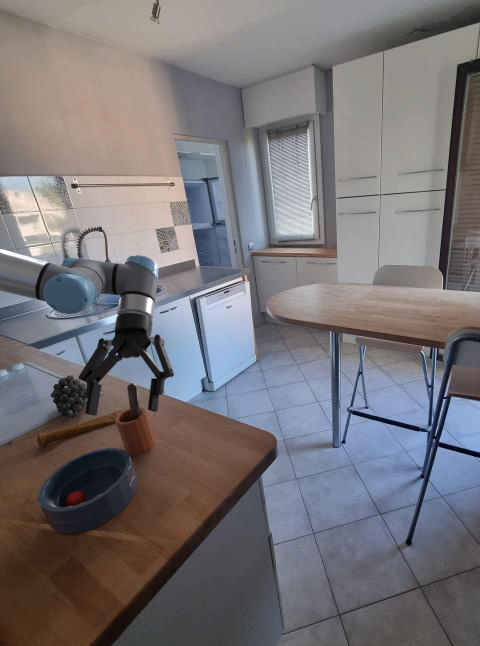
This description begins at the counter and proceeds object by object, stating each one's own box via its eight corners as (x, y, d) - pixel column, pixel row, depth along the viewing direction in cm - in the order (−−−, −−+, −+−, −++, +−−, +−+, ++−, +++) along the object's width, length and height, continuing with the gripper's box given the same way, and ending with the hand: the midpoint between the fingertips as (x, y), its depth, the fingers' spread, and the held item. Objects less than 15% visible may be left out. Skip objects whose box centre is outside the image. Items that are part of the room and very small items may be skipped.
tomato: (65, 511, 60) (59, 499, 59) (77, 498, 63) (72, 486, 62) (79, 513, 60) (73, 501, 59) (91, 499, 62) (86, 487, 61)
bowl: (30, 531, 58) (16, 506, 55) (91, 467, 71) (82, 445, 69) (103, 541, 55) (92, 515, 53) (153, 473, 68) (146, 450, 66)
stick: (134, 447, 75) (124, 385, 68) (138, 442, 76) (130, 381, 69) (141, 449, 75) (132, 387, 68) (146, 443, 76) (138, 382, 69)
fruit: (68, 392, 83) (74, 366, 95) (35, 411, 81) (45, 382, 93) (91, 415, 87) (94, 388, 100) (60, 433, 85) (67, 403, 98)
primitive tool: (126, 410, 90) (122, 399, 88) (130, 419, 86) (127, 408, 84) (39, 443, 80) (34, 431, 78) (40, 456, 75) (34, 444, 74)
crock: (120, 456, 73) (108, 423, 70) (137, 438, 79) (126, 406, 75) (144, 458, 72) (133, 425, 69) (160, 439, 78) (150, 407, 74)
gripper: (193, 321, 80) (186, 411, 72) (93, 328, 81) (75, 418, 73) (181, 307, 73) (172, 405, 65) (72, 314, 74) (50, 413, 66)
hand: (121, 412), depth 69 cm, fingers open, 12 cm apart
